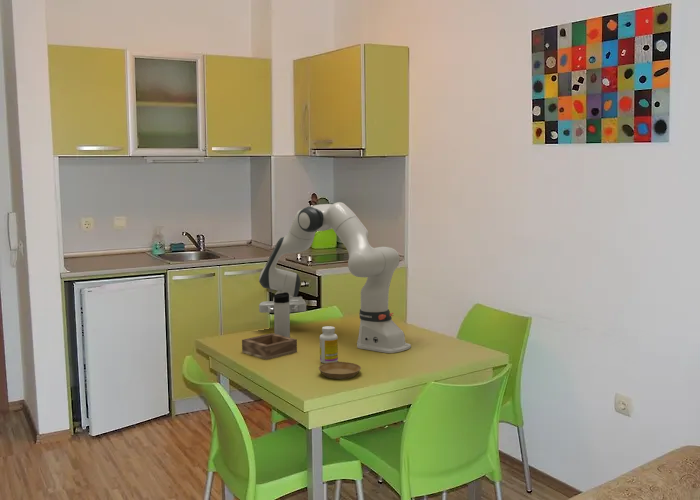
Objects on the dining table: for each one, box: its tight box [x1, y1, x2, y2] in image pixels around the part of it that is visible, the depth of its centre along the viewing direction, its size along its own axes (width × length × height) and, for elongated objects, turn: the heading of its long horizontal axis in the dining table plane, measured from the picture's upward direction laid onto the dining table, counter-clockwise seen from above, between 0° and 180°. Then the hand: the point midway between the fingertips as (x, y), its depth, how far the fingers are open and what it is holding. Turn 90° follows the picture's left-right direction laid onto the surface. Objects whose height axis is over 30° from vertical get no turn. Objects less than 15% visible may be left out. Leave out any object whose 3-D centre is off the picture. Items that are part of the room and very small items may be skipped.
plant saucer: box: [318, 361, 362, 380], centre depth 250 cm, size 15×15×3 cm
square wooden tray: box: [241, 332, 298, 360], centre depth 278 cm, size 15×15×5 cm
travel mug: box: [273, 292, 291, 338], centre depth 293 cm, size 6×7×20 cm
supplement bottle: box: [319, 325, 339, 364], centre depth 264 cm, size 7×7×13 cm
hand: (282, 310), depth 303 cm, fingers open, 8 cm apart
